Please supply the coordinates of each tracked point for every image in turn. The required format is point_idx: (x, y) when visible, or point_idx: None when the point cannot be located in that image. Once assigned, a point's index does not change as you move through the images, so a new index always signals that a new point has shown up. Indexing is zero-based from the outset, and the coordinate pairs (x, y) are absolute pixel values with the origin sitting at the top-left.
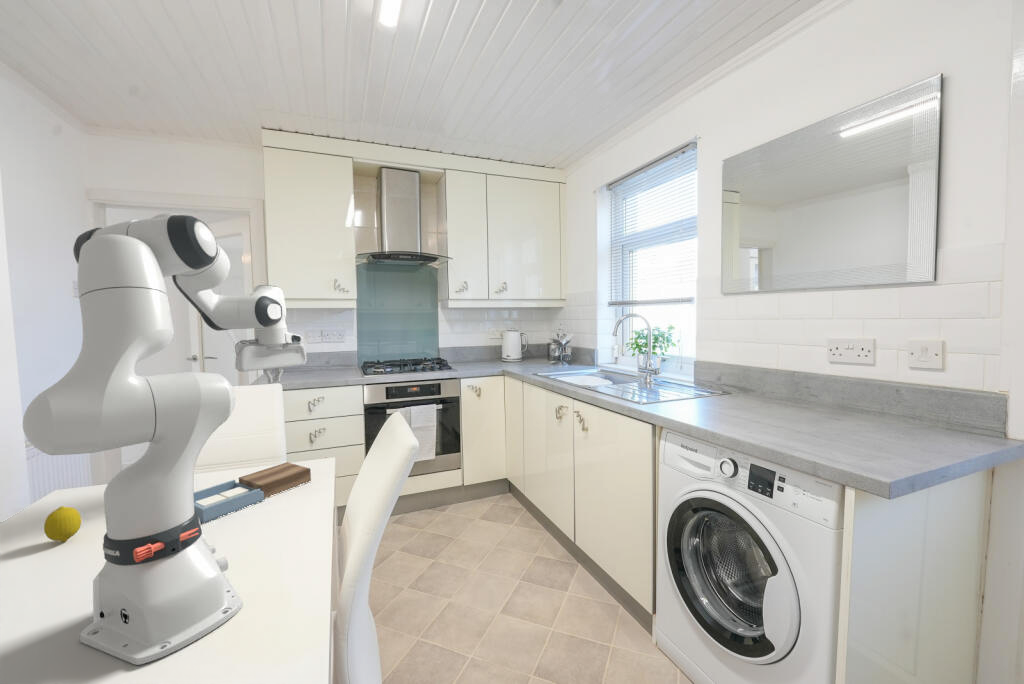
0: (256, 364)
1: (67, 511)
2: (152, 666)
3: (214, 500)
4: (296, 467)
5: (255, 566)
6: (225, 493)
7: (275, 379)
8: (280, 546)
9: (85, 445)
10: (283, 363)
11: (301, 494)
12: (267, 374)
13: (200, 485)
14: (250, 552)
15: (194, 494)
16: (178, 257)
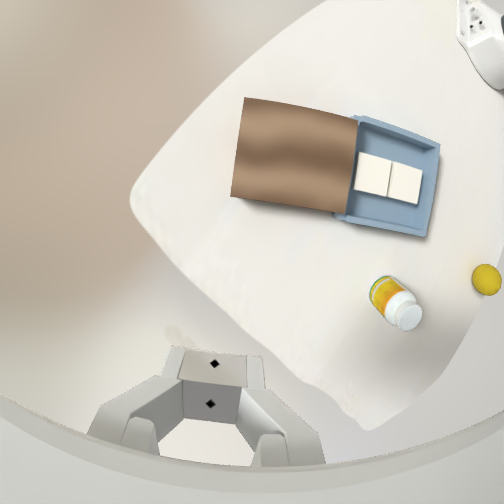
0: (485, 473)
1: (497, 277)
2: None
3: (406, 173)
4: (251, 136)
5: (436, 13)
6: (383, 184)
7: (213, 369)
8: (409, 8)
9: None
10: (64, 472)
11: (300, 73)
12: (295, 425)
13: (331, 313)
14: (430, 31)
15: (407, 227)
16: None
